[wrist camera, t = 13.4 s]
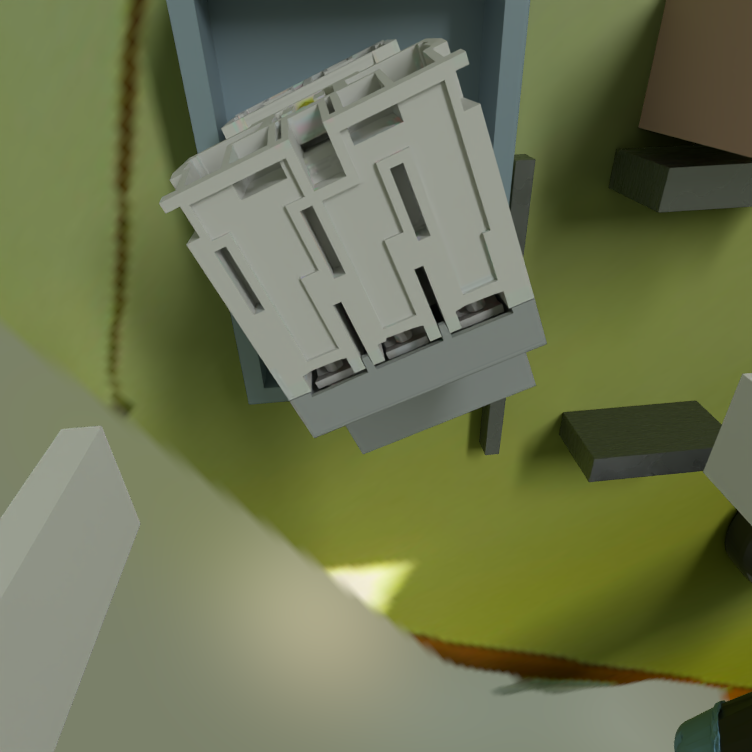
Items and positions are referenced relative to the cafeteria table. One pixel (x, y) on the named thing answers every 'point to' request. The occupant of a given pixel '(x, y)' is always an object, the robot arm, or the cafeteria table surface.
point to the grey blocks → (647, 422)
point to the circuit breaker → (368, 245)
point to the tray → (326, 48)
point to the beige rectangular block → (703, 75)
